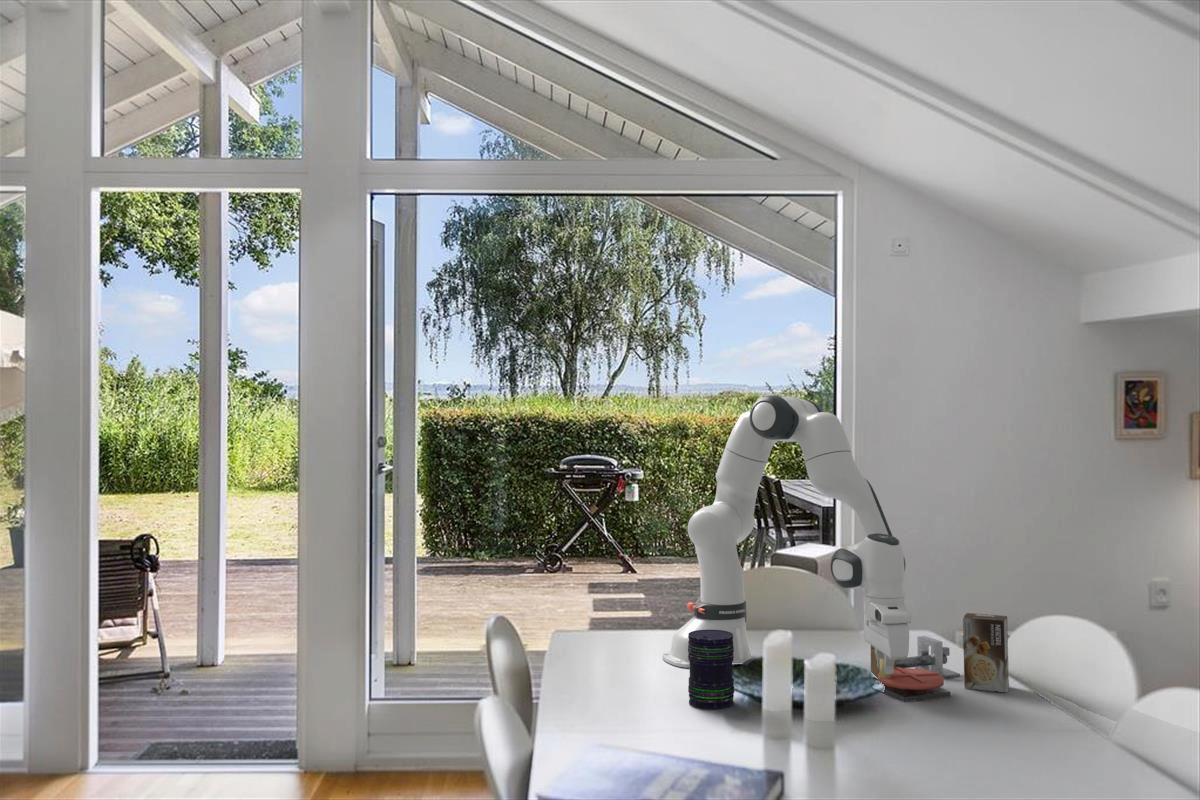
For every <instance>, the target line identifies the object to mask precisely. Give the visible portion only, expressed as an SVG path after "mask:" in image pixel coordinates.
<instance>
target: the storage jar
mask: <svg viewBox="0 0 1200 800" xmlns="http://www.w3.org/2000/svg"><path fill="white" fill-rule="evenodd" d="M688 638H689V641H688V652H689V653H688V659H689V661H690V668H689V677H688V687H687V689H688V690H687V691H688V692H687V693H688V698H689V699H688V704H689V706H690V707H692V708H694V709H698V710H703V711H722V710H727V709H730V708H732V707H734V705H735V701H734V697H735V696H734V695H735V682H734V681H735V680H734V677H733V666H732V662H733V658H734V656H733V652H734V646H733V633H731V632H728V631H723V630H697V631H692V632H690V633H688Z"/></svg>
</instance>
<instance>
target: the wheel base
mask: <svg viewBox="0 0 1200 800" xmlns="http://www.w3.org/2000/svg"><path fill="white" fill-rule="evenodd" d="M884 686H885V690H884V692H883V694H885V695H887V696H890V697H892V698H894V699H897V700H899V701H901V702H903V701H904V702H903V703H906V701H908V702H915V700H916V701H923V700H924V699H925V700H931V698H933V699H940V697H941V698H947V697H951V696H952V694H951V693H952V692H951V691H950V690H948V689H944V688H943V687H939V688H935V689H927V690H911V689H901V688H895V687H890V686H887V685H884ZM925 700H924V701H925Z"/></svg>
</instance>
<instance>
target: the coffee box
mask: <svg viewBox="0 0 1200 800" xmlns="http://www.w3.org/2000/svg"><path fill="white" fill-rule="evenodd" d="M1008 626H1009V625H1008V616H1007V615H999V614H997V615H996V614H989V613H988V614H987V613H985V614H984V613H970V612H966V613H965V614H964V616H963V618H962V633H963V635H962V636H963V637H962V639H963V643H962V644H963V676H964V679H963V680H964V682H963V683H964V689H965V688H968V689H967V690H975V689H979V690H978V691H985V690H989V691H988V692H995V691H998V692H997V693H1004V692H1006V693H1007V692H1008V690H1009V689H1008V688H1010V678H1009V677H1010V676H1009V640H1008V639H1009V638H1008V637H1009V636H1008V635H1009V634H1008V633H1009V632H1008V629H1009V627H1008ZM999 691H1000V692H999Z"/></svg>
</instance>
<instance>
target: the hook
mask: <svg viewBox="0 0 1200 800" xmlns="http://www.w3.org/2000/svg"><path fill="white" fill-rule="evenodd" d="M942 649H943V665H945V664H946V665H947V663H948V656H951V655H950V653H951V652H950V647H948V646H942ZM921 666H931V654H929V655H925V656H918V655H916V656H909V657H908V656H907V658H906V659H902V660H895V662H894V666H893V669H895V667H901V668H911V669H913V668H915V667H921ZM871 672H872V673H873V674H874V675H875V676H876V677H877V678H878V673H879V672H880V669H879V668H878V667H877V659H876V655H875V648H874V647H873V646H872V645H870V673H871Z"/></svg>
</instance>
